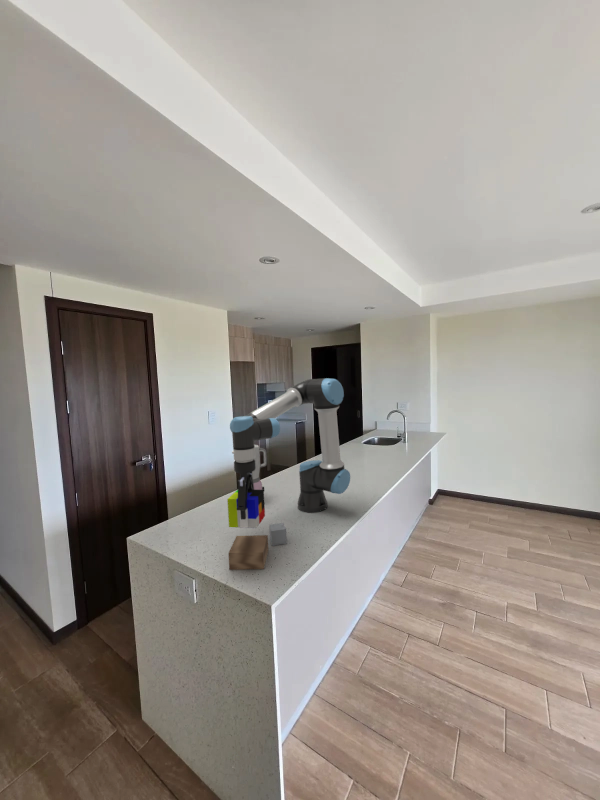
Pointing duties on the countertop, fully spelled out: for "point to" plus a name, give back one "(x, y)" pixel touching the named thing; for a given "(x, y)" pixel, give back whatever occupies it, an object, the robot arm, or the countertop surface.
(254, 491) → the puzzle toy
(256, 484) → the blender
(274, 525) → the slate block
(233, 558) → the walnut block
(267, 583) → the countertop surface
